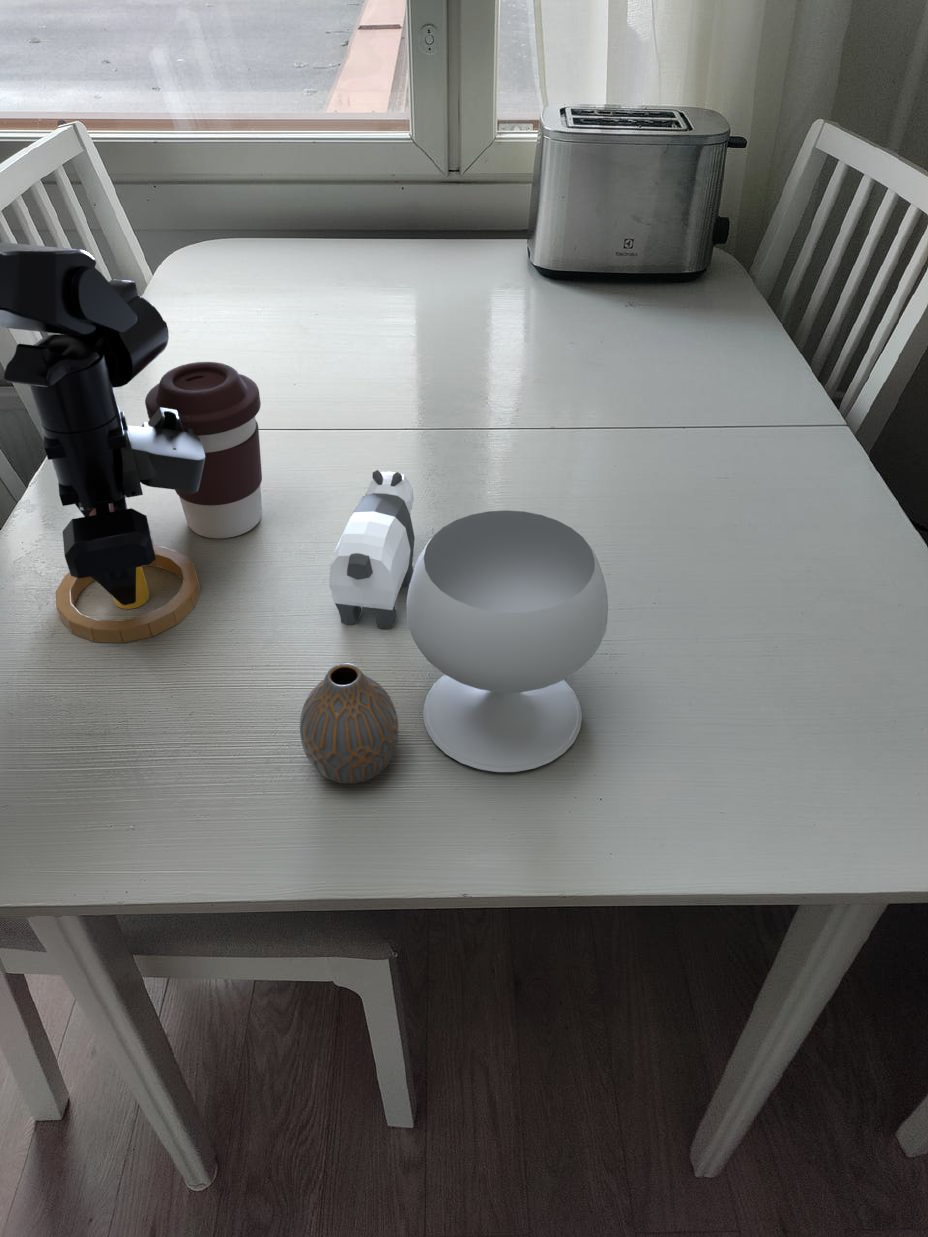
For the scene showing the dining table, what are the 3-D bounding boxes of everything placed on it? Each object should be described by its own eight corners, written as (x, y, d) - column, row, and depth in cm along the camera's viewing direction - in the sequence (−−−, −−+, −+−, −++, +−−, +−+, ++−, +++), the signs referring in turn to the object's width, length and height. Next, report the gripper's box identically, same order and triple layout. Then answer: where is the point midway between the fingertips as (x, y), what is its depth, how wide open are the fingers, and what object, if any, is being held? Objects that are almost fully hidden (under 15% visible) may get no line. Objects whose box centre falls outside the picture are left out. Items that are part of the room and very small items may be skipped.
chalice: (546, 637, 80) (558, 485, 71) (626, 755, 71) (653, 596, 61) (387, 678, 77) (377, 523, 67) (448, 808, 67) (447, 648, 57)
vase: (355, 815, 66) (346, 727, 60) (285, 768, 69) (270, 681, 64) (419, 756, 70) (416, 668, 65) (350, 714, 74) (341, 627, 68)
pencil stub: (134, 613, 83) (110, 526, 77) (107, 603, 84) (81, 517, 78) (156, 593, 85) (134, 508, 79) (129, 584, 86) (106, 499, 80)
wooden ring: (140, 658, 78) (136, 645, 77) (30, 619, 82) (25, 605, 81) (226, 578, 86) (223, 565, 86) (122, 546, 90) (118, 533, 89)
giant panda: (394, 639, 80) (388, 546, 74) (330, 631, 81) (320, 539, 75) (429, 540, 91) (427, 451, 85) (373, 533, 92) (367, 446, 86)
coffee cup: (266, 550, 90) (243, 404, 80) (161, 547, 90) (126, 402, 80) (284, 492, 97) (265, 353, 88) (187, 490, 98) (158, 351, 88)
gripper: (205, 456, 68) (237, 623, 78) (172, 350, 82) (203, 504, 92) (40, 484, 65) (95, 654, 75) (33, 369, 79) (81, 526, 89)
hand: (125, 577), depth 83 cm, fingers open, 7 cm apart
